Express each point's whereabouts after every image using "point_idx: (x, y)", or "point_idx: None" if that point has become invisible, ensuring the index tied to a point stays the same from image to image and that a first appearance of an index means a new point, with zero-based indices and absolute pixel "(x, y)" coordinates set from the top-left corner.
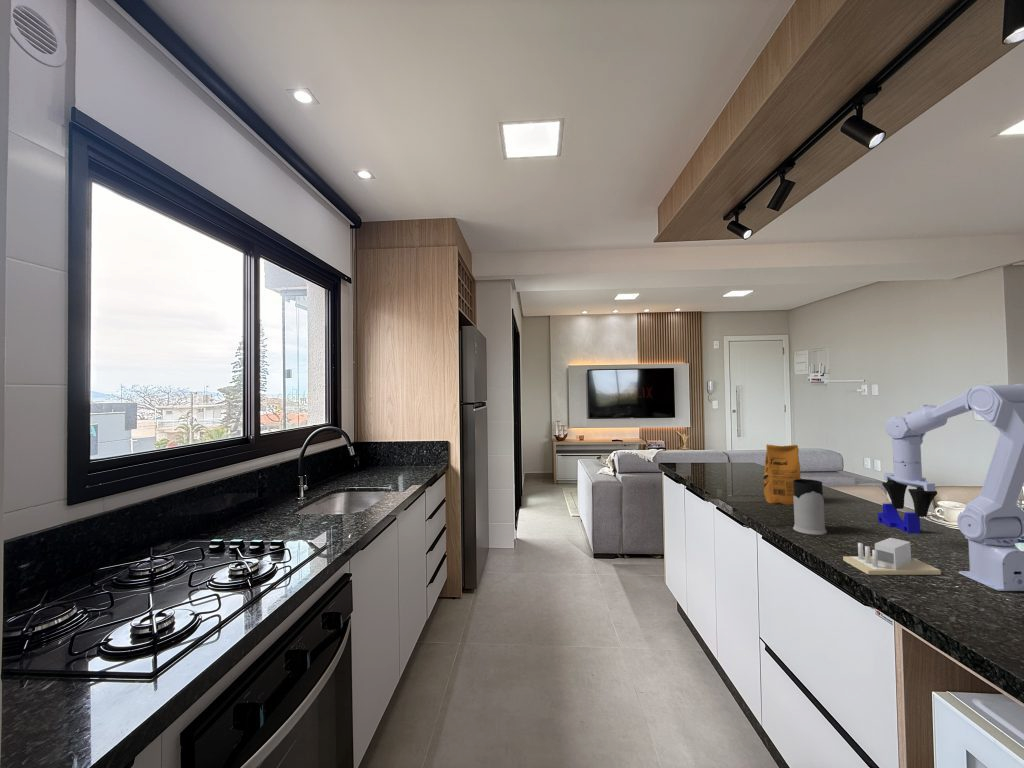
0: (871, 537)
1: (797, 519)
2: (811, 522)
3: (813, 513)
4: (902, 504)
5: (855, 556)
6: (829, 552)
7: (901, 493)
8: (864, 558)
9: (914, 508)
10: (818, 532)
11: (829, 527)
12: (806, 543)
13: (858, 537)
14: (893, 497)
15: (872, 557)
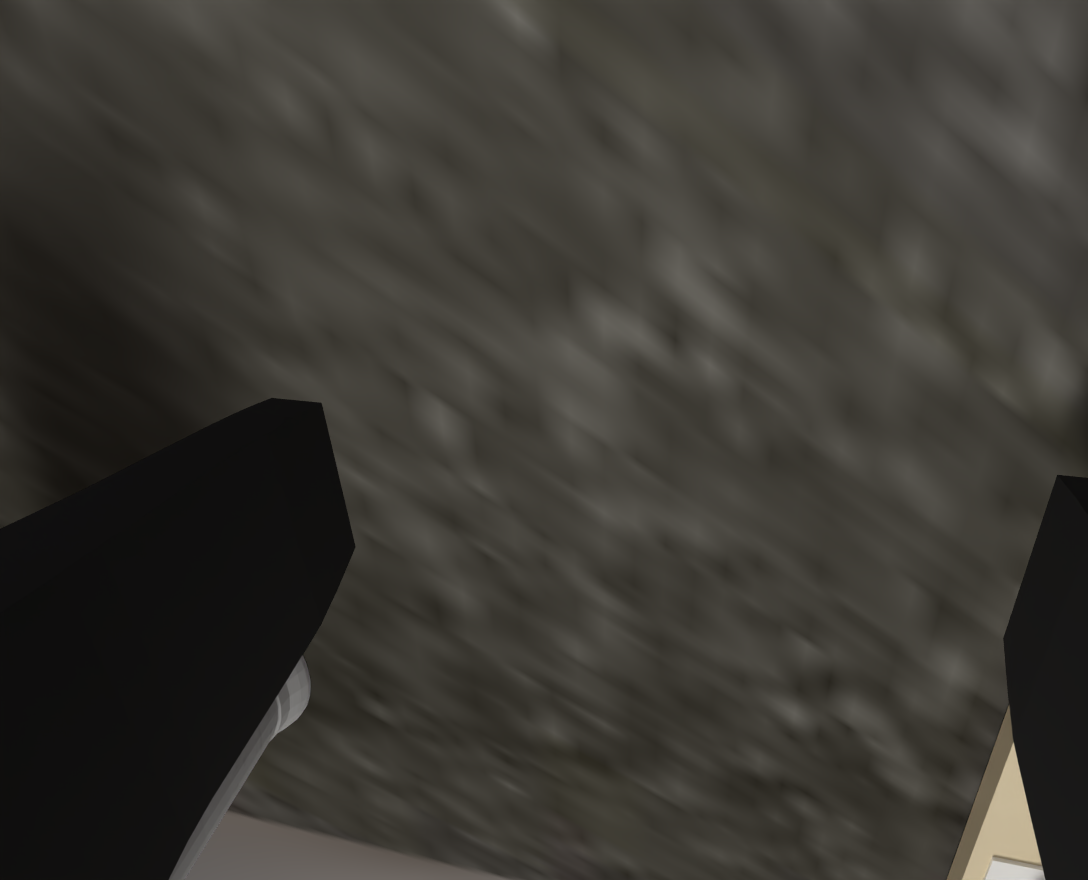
0: (301, 311)
1: None
2: (243, 777)
3: (192, 849)
4: (263, 476)
5: (964, 877)
6: (750, 857)
7: (23, 730)
8: (1042, 875)
9: (1050, 858)
10: (292, 675)
11: (54, 465)
12: (542, 845)
13: None
14: (202, 788)
15: (1024, 806)
